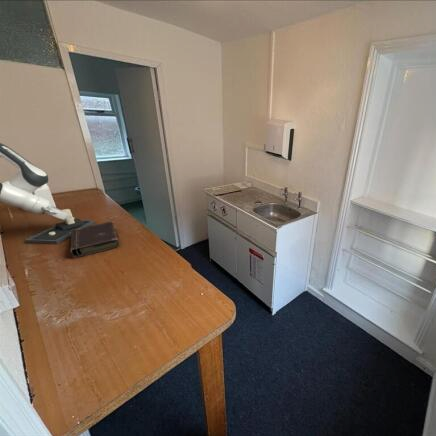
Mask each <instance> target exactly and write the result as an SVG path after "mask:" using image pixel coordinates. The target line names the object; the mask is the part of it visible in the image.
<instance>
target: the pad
mask: <svg viewBox="0 0 436 436" xmlns="http://www.w3.org/2000/svg"><path fill="white" fill-rule="evenodd" d="M70 232H71V231H70V230H50V231H48V232H46V233H44V234H42V235H40V236H38V237H36V238H34V239H41V240H56V239H58V238H60V237H62V236H64V235H66V234H68V233H70Z"/></svg>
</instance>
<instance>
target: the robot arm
mask: <svg viewBox="0 0 436 436" xmlns="http://www.w3.org/2000/svg"><path fill="white" fill-rule="evenodd" d="M0 158H3V159H4V160H6V161H7V162H9V163H10V164H12V166H15V167H16V168H17V169H18V172H17V173H16V174H15V175H13V176H12V177H10V178H9V179H8V180H6V181H4V182H0V203H3V204H5V205H8V206H11V207H14V208H15V207H16V208H19V209H21V210H22V211H25V212H28V213H31V214H34V215H36V216H37V215H41V214H42V215H45V214H46V215H48V216H51V217H54V218H56V219H59V220H61V221H65V219H69V220H72V221H73V220H74V219H75V217H71V216H69V215H68V214H67V213H65V212H63V211H62V210H63V209H59V208H58V207H57V206H56V207H55V206H53V205H51V203H49V200H48V199H45V198H43V197H40V196H38V195H34V194H33V193H32V192H34V191H35V190H37V189H38V188H39V187H41V186H43V185H44V184H47V183H49V176H48V173H47V172H46V171H44V170H43V169H41V168H40V167H38V166H36V165H35V164H34V163H32V162H30V161H29V160H28V159H26V158H25V157H24V156H22V155H20V154H19V153H18V152H16V151H15V150H14V149H12V148H11V147H9V146H8V145H6V144H5V143H1V142H0Z"/></svg>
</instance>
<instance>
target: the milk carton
mask: <svg viewBox="0 0 436 436" xmlns="http://www.w3.org/2000/svg"><path fill="white" fill-rule="evenodd" d="M32 194H34V195H38V196H40V197H43V198H45V199H48V200H49V203H51V205H53V206H55V207H56V208H57V206H56V203H55V200H54V197H53V195H52V192H51V189H50V187H49V185H48V184H47V183H46V184H44V185H43V186H41V187H39V188H38V189H37V190H35V191H34V192H32Z"/></svg>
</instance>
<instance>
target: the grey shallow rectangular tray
mask: <svg viewBox="0 0 436 436" xmlns="http://www.w3.org/2000/svg"><path fill="white" fill-rule="evenodd" d="M81 220H82V221H84V222H85V223H86V224H85V225H81V226H78V227H74V228H70V229H67V230H70V231H71V232H72V229H78V228H82V227H86V226H90V225H95V223H96V222H95V220H88V219H87V220H85V219H81ZM63 222H65V220H63ZM50 230H62V229H60V228H59V227H57V226H56V225H53V226H51V227H49V228H48V229H45V230H43V231H41V232H39V233H37V234H35V235H33V236H31V237H28V238H26V239H24V242H25V244H50V245H51V244H52V245H54V244H55V245H57V244H60V243H61V242H63V241H65V240H67V239H68V238H71V232H70V233H68V234H66V235H64V236H62V237H60V238H58V239H56V240H41V239H34V238H36V237H38V236H40V235H42V234H44V233H46V232H48V231H50Z"/></svg>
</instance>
